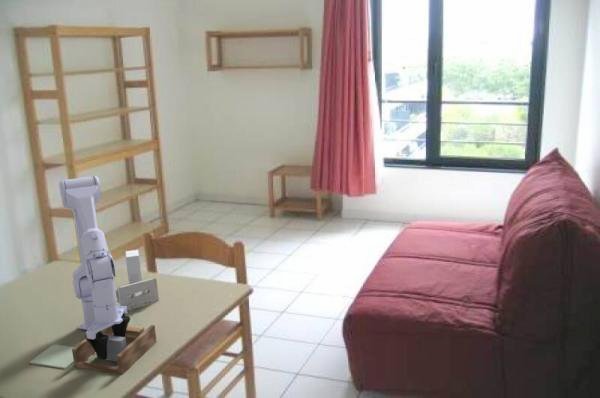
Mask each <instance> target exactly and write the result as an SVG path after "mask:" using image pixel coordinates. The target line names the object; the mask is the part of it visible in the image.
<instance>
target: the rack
mask: <svg viewBox="0 0 600 398" xmlns="http://www.w3.org/2000/svg"><path fill="white" fill-rule="evenodd" d="M101 332H102V333H103V334H104V335H111V336H112V334H113V330H112V327H111V326H110V327H108V328H106V329H104V330H102V331H101ZM156 334H157V333H156V326H155V325H153V324H150V326H148V328H146V329H144V332H143V333H142V334H141V335H140V336H138V337H137V338H136V339H135V340H134V341H133V342H132V343H130V344H129V345H127V347H126V348H125V349H124V350H123V351H121V352H120V353H119V354H118V355H117V361H116V362H117V367H116V366H111V365H103V364H97V363H92V362H86V361H87V360H89V359H90V358H91V357H92V356H94V355H95V354H96V353H95V350H94V348H93V347H92V345H91V344H90V343H89V342H88V341H87V340H86V338H84V339H83V340H82V341H80V342H78V344H76V345H75V346H73V347H74V348H73V349H72V353H73V359H74V363H73V364H74V367H75V368H81V369H88V370H93V371H99V372H100V371H101V372H106V373H112V374H119V375H124V374H125V372H127V371H128V370H129V369H130V368H131V367H133V366H134V365H135V363H136V362H138V360H140V358H141V357H143V356H144V355H145V354H146V353H147V352H148V351H149V350H150V349H151V348H152V347H153V346H154V345H155V344H156V343H157V335H156ZM94 353H95V354H94ZM91 355H92V356H91ZM90 356H91V357H90ZM89 357H90V358H89ZM88 358H89V359H88Z"/></svg>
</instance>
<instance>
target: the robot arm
mask: <svg viewBox="0 0 600 398" xmlns="http://www.w3.org/2000/svg"><path fill="white" fill-rule="evenodd" d="M58 184H59V186H58V187H59V193H60V197H61V198H60V199H61V203H62V206H63V208H66V209H70V210H71V212H72V213H73V214H72V215H73V218H74V219H73V220H74V223H75V224H74V225H75V231H76V237H77V243H78V244H77V245H78V248H79V249H78V251H79V256H80V262H81V263H80V265H79V266H78V267H77V268H76V269H75V270H74V271H73V273H72V282H73V283H72V284H73V291H74V293H75V294H74V295H75V298H76V299H78V300H81V306H82V312H83V313H82V314H83V320H84V322H83V323H82V324H81V325H79V326H78V330H83V331H84V330H86V331H85V336H84V337H85V338H84V339H86V340H87V341H88V342H89V343H90V344H91V345H92V347H93V348H94V350H95V352H96V353H95V355H96V354H97V355H96V357H97V356H98V358H97V359H98V360H103V361H104V360H106V358H107V341H108V337H109V335H103V333H102V332H101V331H102V330H104V329H106V328H108V327H110V326H111V327H112V330H113V334H114V336H119V337H125V334H126V329H127V326H128V325H129V323H130V321H131V317H130V315H127V314H128V310H127V306H120V305H119V306H118V300H117V292H116V291H117V290H116V284H115V283H116V282H115V278H116V274H117V273H116V270H117V269H116V263H115V260H114V258H113V256H112V253H111V251H110V250H109V248H108V243H107V239H106V236H105V233H104V231H102V230H101V229H99V227H98V226H99V225H98V220H97V213H96V206H95V205H97V204H98V203H99V202H100V198H101V195H102V189H101V183H100V178H99V177H98V176H97V175H96V174H95V175H92V176H91V175H90V176H86V177H85V176H83V177H77V178H70V179H60V181H59V183H58Z"/></svg>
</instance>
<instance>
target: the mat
mask: <svg viewBox="0 0 600 398" xmlns="http://www.w3.org/2000/svg"><path fill="white" fill-rule="evenodd" d="M74 347H75V346H73V347H72V346H65V345H58V344H52V345H51V346H49V347H48V348H47V349H45V350H44V351H43V352H41V353H39V355H37V356H36V357H34V358H33V359H31V360H30V361H29V364H32V365H38V366H43V367H51V368H56V369H62V370H66V369H68V368H70V366H71V365H73V364H74V359H73V353H72V349H73V348H74Z"/></svg>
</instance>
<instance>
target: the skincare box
mask: <svg viewBox="0 0 600 398" xmlns="http://www.w3.org/2000/svg"><path fill="white" fill-rule="evenodd" d="M124 253H125V261H126V263H125V264H126V270H127V271H126V272H127V278H128V285H129V284H133V283H136V282H140V281H143V278H142V270H141V263H140V254H139V253H140V252H139V249H133V250H126V251H125V252H124Z"/></svg>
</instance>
